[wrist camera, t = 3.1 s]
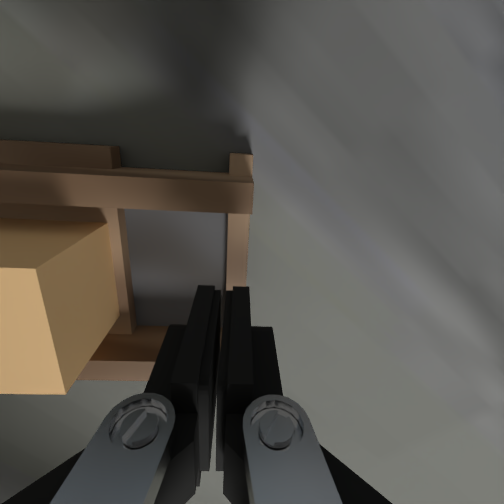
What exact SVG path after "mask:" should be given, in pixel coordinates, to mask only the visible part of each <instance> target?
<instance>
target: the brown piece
mask: <svg viewBox="0 0 504 504" xmlns="http://www.w3.org/2000/svg"><path fill="white" fill-rule="evenodd" d="M252 166H253V154H244V153H230V164H229V173H223V172H204V171H185V170H167V169H148V168H130V167H121V158H120V149H119V146H105V145H88V144H70V143H53V142H36V141H18V140H1V139H0V218H9V219H32V220H55V221H79V222H102V223H108V229H109V237H110V244H111V252H112V260H113V267H114V275H115V282H116V290H117V298H118V305H119V313H120V316H119V317H118V319H117V320H116V322H115V323H114V325H113V326H112V327H111V329H110V330H109V332H108V333H107V335H106V336H105V338H104V339H103V341H102V342H101V344H100V345H99V347H98V348H97V349H96V351H95V352H94V354H93V355H92V357H91V358H90V360H89V361H88V363H87V364H86V366H85V367H84V369H83V370H82V371H81V373H80V374H79V376H78V377H77V379H76V380H118V381H148V380H149V377H150V375H151V372H152V369H153V367H154V364H155V361H156V359H157V356H158V353H159V351H160V348H161V345H162V343H163V340H164V337H165V335H166V332H167V329H168V327H169V325H170V324H182V325H187V322H188V318H189V315H190V311H191V308H192V304H193V301H194V297H195V294H196V290H197V287H198V285H214V286H215V290H221V333H220V348H221V338H222V328H223V318H224V308H225V298H226V290H233V286H243V287H246V276H247V258H248V239H249V221H250V214H252V207H253V190H254V182H253V179H252Z"/></svg>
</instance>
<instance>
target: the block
mask: <svg viewBox="0 0 504 504" xmlns="http://www.w3.org/2000/svg"><path fill="white" fill-rule="evenodd" d="M119 316H120V313H119V305H118V298H117V290H116V282H115V275H114V267H113V260H112V252H111V244H110V237H109V229H108V223H102V222H79V221H55V220H32V219H9V218H0V394H62V395H66V393H67V392H68V391H69V389H70V388H71V386H72V385H73V383H74V382H75V380H76V379H77V377H78V376H79V374H80V373H81V371H82V370H83V369H84V367H85V366H86V364H87V363H88V361H89V360H90V358H91V357H92V355H93V354H94V352H95V351H96V349H97V348H98V347H99V345H100V344H101V342H102V341H103V339H104V338H105V336H106V335H107V333H108V332H109V330H110V329H111V327H112V326H113V325H114V323H115V322H116V320H117V319H118V317H119Z"/></svg>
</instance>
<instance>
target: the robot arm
mask: <svg viewBox="0 0 504 504" xmlns="http://www.w3.org/2000/svg"><path fill="white" fill-rule="evenodd" d="M220 333H221V290H215V286H214V285H198V287H197V290H196V294H195V297H194V301H193V304H192V308H191V311H190V315H189V318H188V322H187V325H182V324H170V325H169V327H168V329H167V332H166V335H165V337H164V340H163V343H162V345H161V348H160V351H159V353H158V356H157V359H156V361H155V364H154V367H153V369H152V372H151V375H150V377H149V380H148V383H147V385H146V388H145V391H144V393H141V394H137V395H133V396H131V397H129V398H127V399H125V400H123V401H121V402H120V403H119V404H118V405H116V406H115V407H114V408H113V409H112V410H111V411H110V412H109V414H108V415H107V416H106V417H105V419H104V420H103V422H102V423H101V425H100V427H99V428H98V430H97V431H96V433H95V434H94V436H93V437H92V439H91V441H90V442H89V444H88V445H87V447H86V448H85V449H84V450H82V451H80V452H79V453H77V454H76V455H74V456H73V457H71V458H70V459H68V460H67V461H65V462H64V463H62V464H61V465H59V466H58V467H56V468H55V469H53V470H52V471H50V472H49V473H47V474H46V475H44V476H43V477H41V478H40V479H38V480H37V481H35V482H34V483H32V484H31V485H29V486H28V487H26V488H25V489H23V490H22V491H20V492H19V493H17V494H16V495H14V496H13V497H11V498H10V499H8V500H7V501H5V502H4V503H2V504H185V503H186V502H187V501H188V500H189V499H190V498H191V497H192V496H193V495H194V494H195V491H196V486H200V478H201V471H209V468H210V458H211V448H212V438H213V427H214V417H215V406H216V396H217V422H216V471H224V481H223V494H224V495H225V496H226V497H227V499H228V500H229V501H230V502H231V504H392V503H391V502H390V501H388V500H387V499H386V498H385V497H384V496H382V495H381V494H380V493H379V492H377V491H376V490H375V489H374V488H373V487H371V486H370V485H369V484H368V483H366V482H365V481H364V480H363V479H362V478H360V477H359V476H358V475H357V474H355V473H354V472H353V471H352V470H351V469H349V468H348V467H347V466H346V465H344V464H343V463H342V462H341V461H340V460H338V459H337V458H336V457H335V456H333V455H332V454H331V453H330V452H329V451H327V450H326V449H325V448H324V447H322V446H321V445H320V444H319V442H318V440H317V437H316V435H315V432H314V430H313V427H312V425H311V422H310V420H309V418H308V416H307V414H306V412H305V411H304V409H303V408H302V407H301V406H300V405H299V404H298V403H296V402H295V401H293V400H291V399H290V398H288V397H284V396H283V393H282V386H281V380H280V373H279V367H278V360H277V354H276V347H275V341H274V334H273V329H272V327H257V326H251V316H250V294H249V287H243V286H233V290H226V298H225V308H224V318H223V328H222V338H221V348H220Z"/></svg>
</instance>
